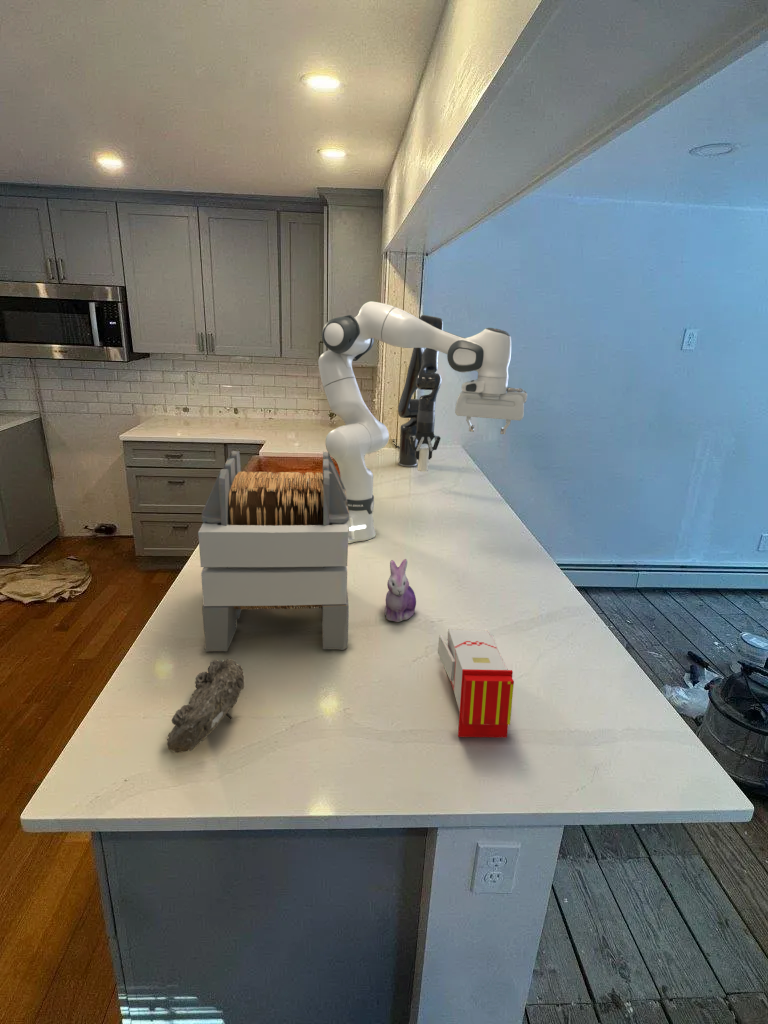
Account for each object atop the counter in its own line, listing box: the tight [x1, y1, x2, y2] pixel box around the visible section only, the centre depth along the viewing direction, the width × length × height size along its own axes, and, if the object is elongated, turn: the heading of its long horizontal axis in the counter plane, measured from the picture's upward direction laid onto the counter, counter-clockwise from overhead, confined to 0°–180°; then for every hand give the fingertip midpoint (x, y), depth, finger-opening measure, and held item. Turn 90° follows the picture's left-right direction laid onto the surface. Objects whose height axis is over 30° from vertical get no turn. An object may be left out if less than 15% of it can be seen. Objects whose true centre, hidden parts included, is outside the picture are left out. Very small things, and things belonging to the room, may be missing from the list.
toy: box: [437, 628, 515, 738], centre depth 117 cm, size 12×13×30 cm
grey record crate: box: [197, 450, 350, 653], centre depth 138 cm, size 34×33×41 cm
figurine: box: [384, 558, 417, 623], centre depth 145 cm, size 9×10×15 cm
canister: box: [417, 447, 430, 473], centre depth 249 cm, size 5×5×10 cm
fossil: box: [166, 658, 245, 754], centre depth 106 cm, size 22×10×15 cm
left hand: (486, 432), depth 171 cm, fingers open, 8 cm apart
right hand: (423, 458), depth 249 cm, fingers closed on canister, 4 cm apart
